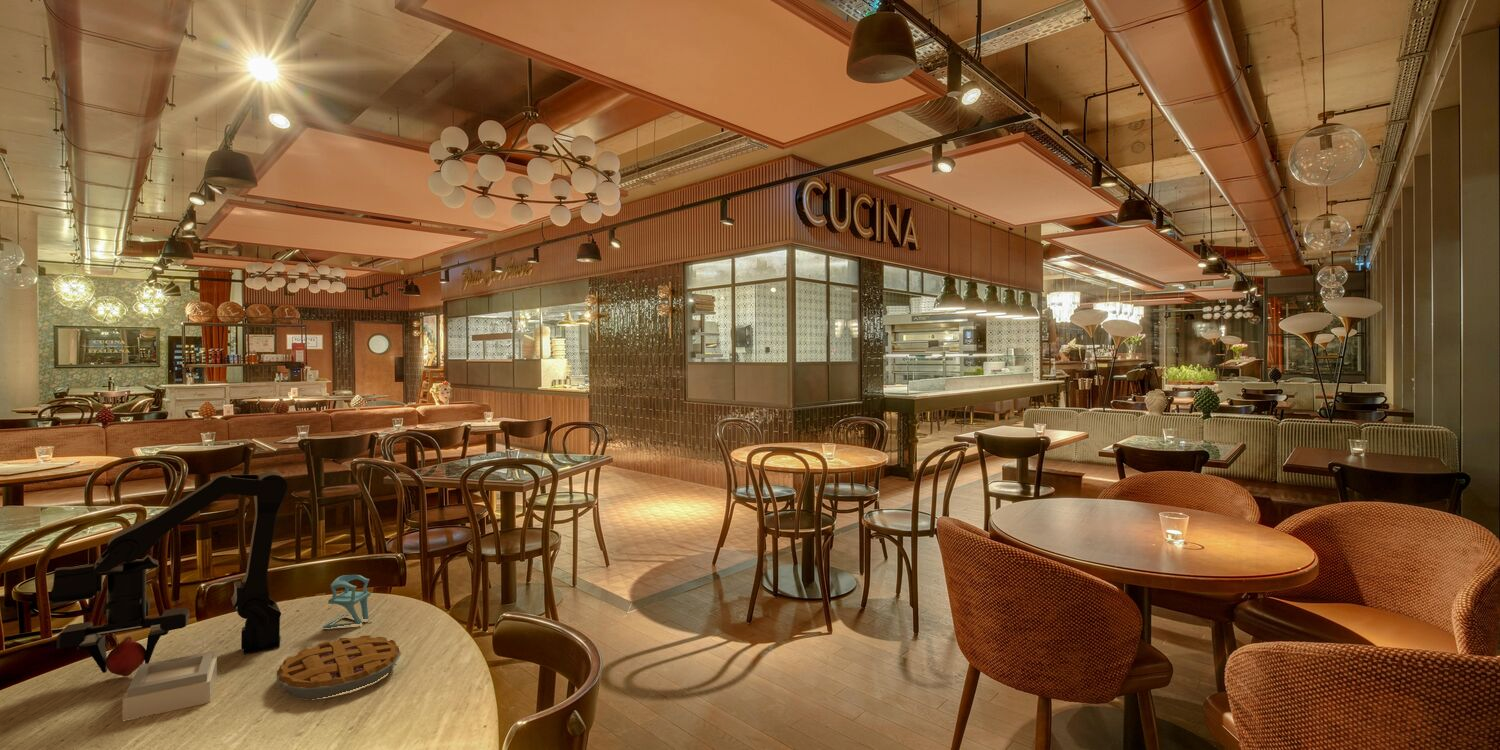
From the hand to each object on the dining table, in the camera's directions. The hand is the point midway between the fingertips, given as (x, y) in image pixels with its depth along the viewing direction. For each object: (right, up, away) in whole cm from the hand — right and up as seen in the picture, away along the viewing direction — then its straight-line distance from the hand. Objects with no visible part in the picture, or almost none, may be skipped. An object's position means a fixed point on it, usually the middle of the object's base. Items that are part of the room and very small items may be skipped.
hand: (126, 668), depth 129 cm
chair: (+28, -2, +28) cm, 40 cm away
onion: (0, -2, 0) cm, 2 cm away
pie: (+42, -3, +3) cm, 42 cm away
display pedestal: (+16, -2, -7) cm, 18 cm away
